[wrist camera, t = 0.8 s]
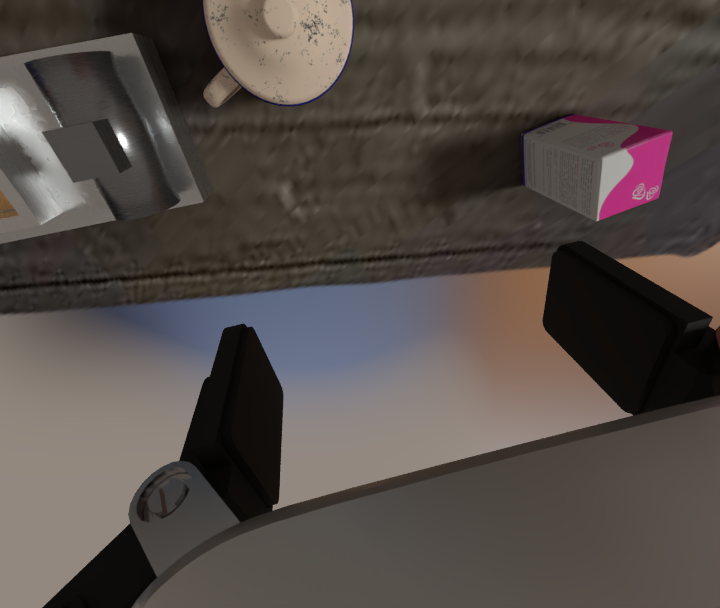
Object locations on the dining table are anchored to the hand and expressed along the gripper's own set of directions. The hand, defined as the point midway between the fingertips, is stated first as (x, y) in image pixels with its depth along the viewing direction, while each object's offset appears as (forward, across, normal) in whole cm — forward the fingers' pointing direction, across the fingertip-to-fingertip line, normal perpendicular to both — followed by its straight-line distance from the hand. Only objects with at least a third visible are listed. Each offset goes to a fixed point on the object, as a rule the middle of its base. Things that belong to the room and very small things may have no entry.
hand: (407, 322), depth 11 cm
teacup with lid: (+28, +3, -9) cm, 30 cm away
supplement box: (+28, -23, +5) cm, 36 cm away
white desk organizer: (+28, +23, -6) cm, 37 cm away
